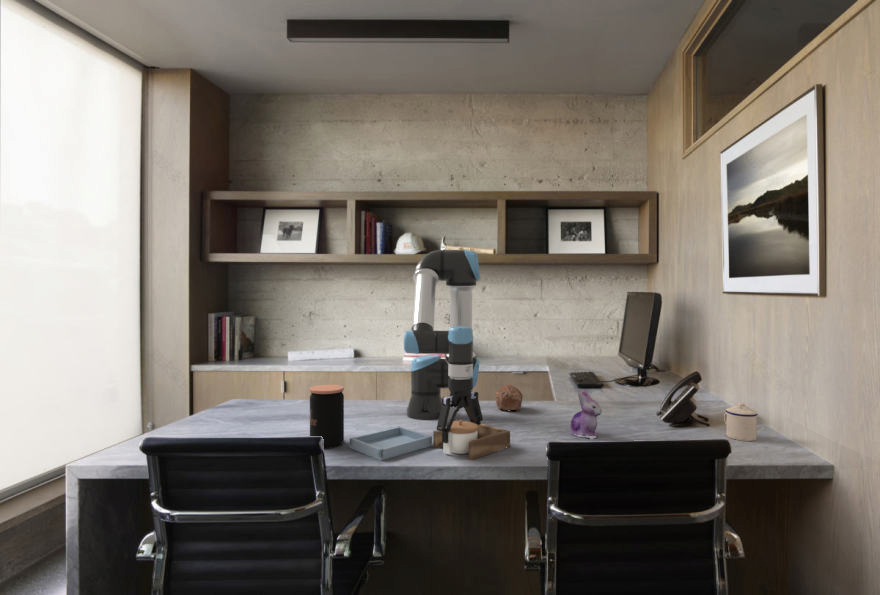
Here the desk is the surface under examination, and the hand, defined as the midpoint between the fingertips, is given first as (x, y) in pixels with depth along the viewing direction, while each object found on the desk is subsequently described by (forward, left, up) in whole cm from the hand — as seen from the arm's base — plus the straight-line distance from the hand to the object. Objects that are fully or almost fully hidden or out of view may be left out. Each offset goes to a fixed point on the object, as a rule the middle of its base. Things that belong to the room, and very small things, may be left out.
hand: (460, 449), depth 153 cm
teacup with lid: (+54, +79, -1) cm, 96 cm away
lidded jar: (0, 0, -1) cm, 1 cm away
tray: (-18, -13, -1) cm, 22 cm away
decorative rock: (-23, +53, -1) cm, 58 cm away
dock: (0, +5, 0) cm, 5 cm away
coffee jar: (-34, -26, -1) cm, 43 cm away
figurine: (+18, +43, -1) cm, 47 cm away
